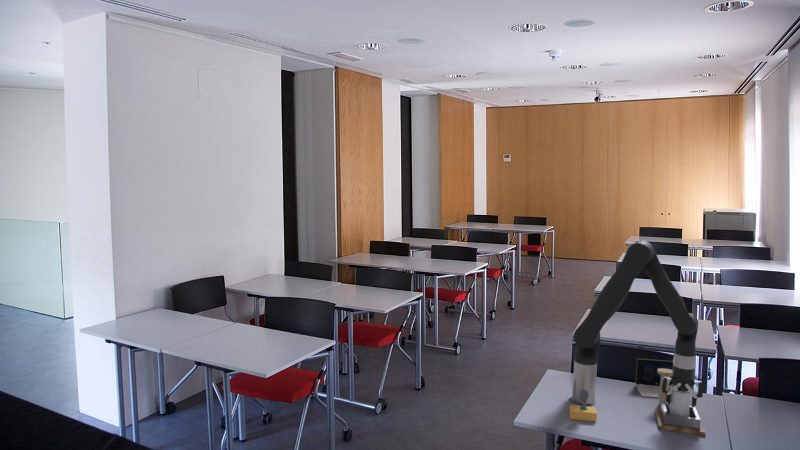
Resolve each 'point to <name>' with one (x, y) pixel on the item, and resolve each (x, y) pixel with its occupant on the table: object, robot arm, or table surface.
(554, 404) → the table surface
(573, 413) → the rubber stamp
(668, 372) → the handle
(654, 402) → the table surface
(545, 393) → the table surface
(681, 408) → the skincare box
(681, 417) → the socket board
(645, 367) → the laptop
